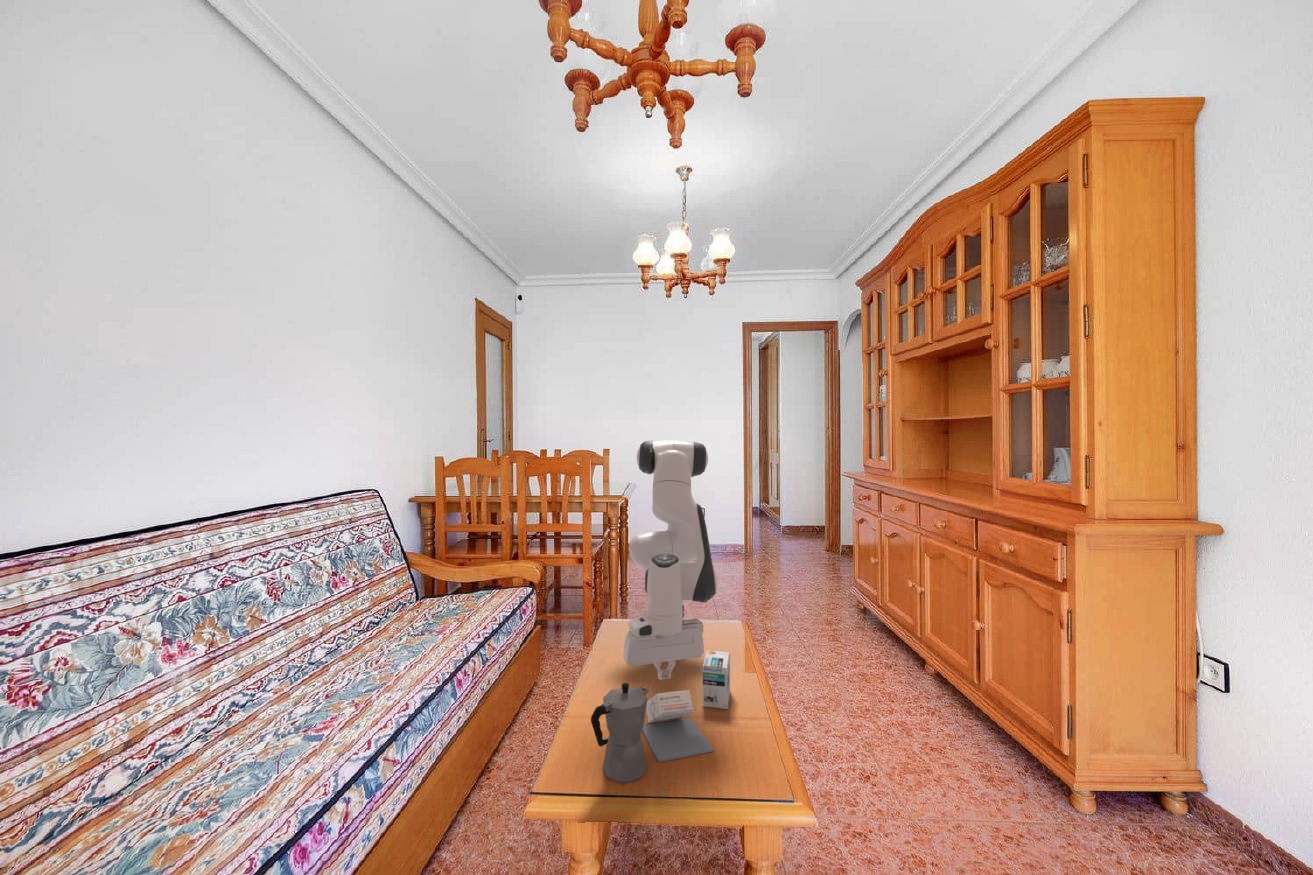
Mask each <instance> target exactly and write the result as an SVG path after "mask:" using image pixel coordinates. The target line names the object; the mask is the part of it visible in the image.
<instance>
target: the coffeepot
mask: <svg viewBox="0 0 1313 875" xmlns="http://www.w3.org/2000/svg"><path fill="white" fill-rule="evenodd" d="M648 692H650V689H647V688H644V687H643V688H642V687H638V688H632V687H630V684H629V683H628V682H623V683H621V687H619V688H616V689H615V688H614V689H611V690H610V691H609V692H607V693H606V694H605V695H604V696H603V697H602V699H603V703H602V704H601V705H597V706H596V707H595V709H594V711H593V712H592V714H591V717H590V723H591V725H592V729H593V732H594V735H595V739H596V743H597V745H598V747H604V746H605V752H604V757H603V762H602V769H603V771H604V775H605V777H606V778H607V779H609V780H611V781H612V782H615V783H621V784H622V783H623V784H625V783H632V782H634V781H637V780H639V779H641V777H642V776H644V774H645V772H646V770H647V769H648V768H647V767H648V766H647V762H646V755H645V748H644V742H643V738H642V732H643V731H642V729H643V726H644V725H645V718H646V714H647V708H646V706H647V701H648V700H649V698H648V697H647V694H648ZM602 715H605V722H606V729H607V730H608V731H607V732H609V733H608V734H609V736H608V738H605V739H604V738H603V735H604V734H603V731H602V729H601V728H602V727H601V721H600V719H601V716H602Z"/></svg>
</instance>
